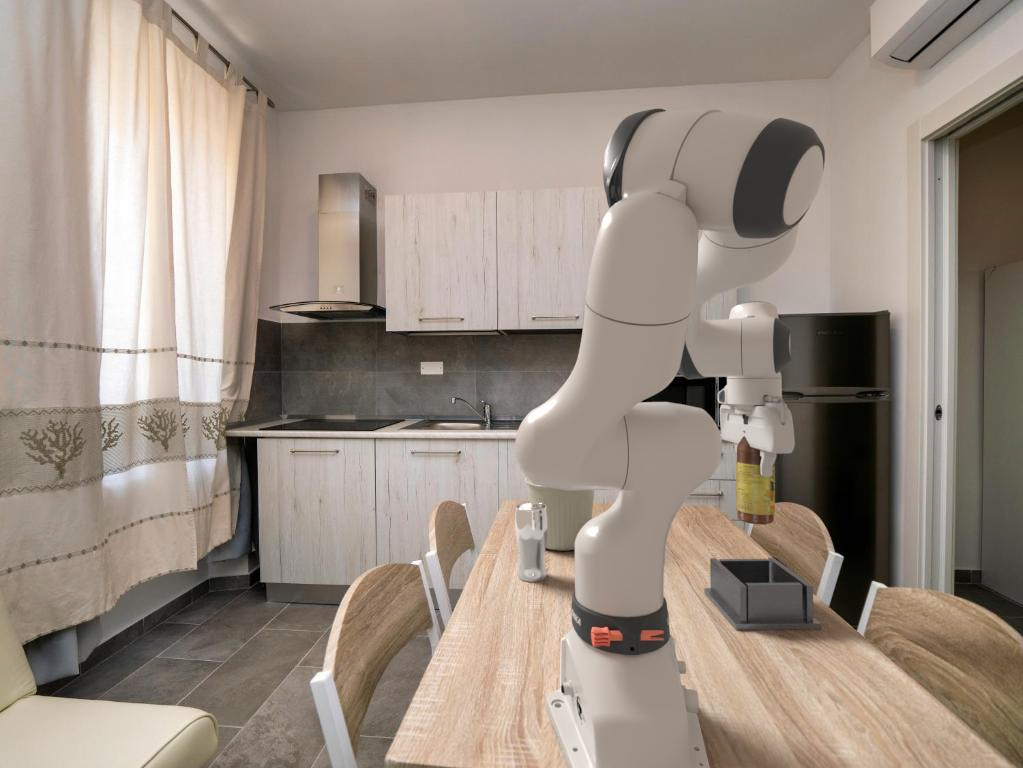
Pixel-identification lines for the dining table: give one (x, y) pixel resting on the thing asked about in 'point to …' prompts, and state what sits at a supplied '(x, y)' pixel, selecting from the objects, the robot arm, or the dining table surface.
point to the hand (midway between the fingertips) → (754, 472)
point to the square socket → (761, 595)
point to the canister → (563, 513)
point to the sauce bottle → (753, 486)
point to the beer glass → (531, 540)
